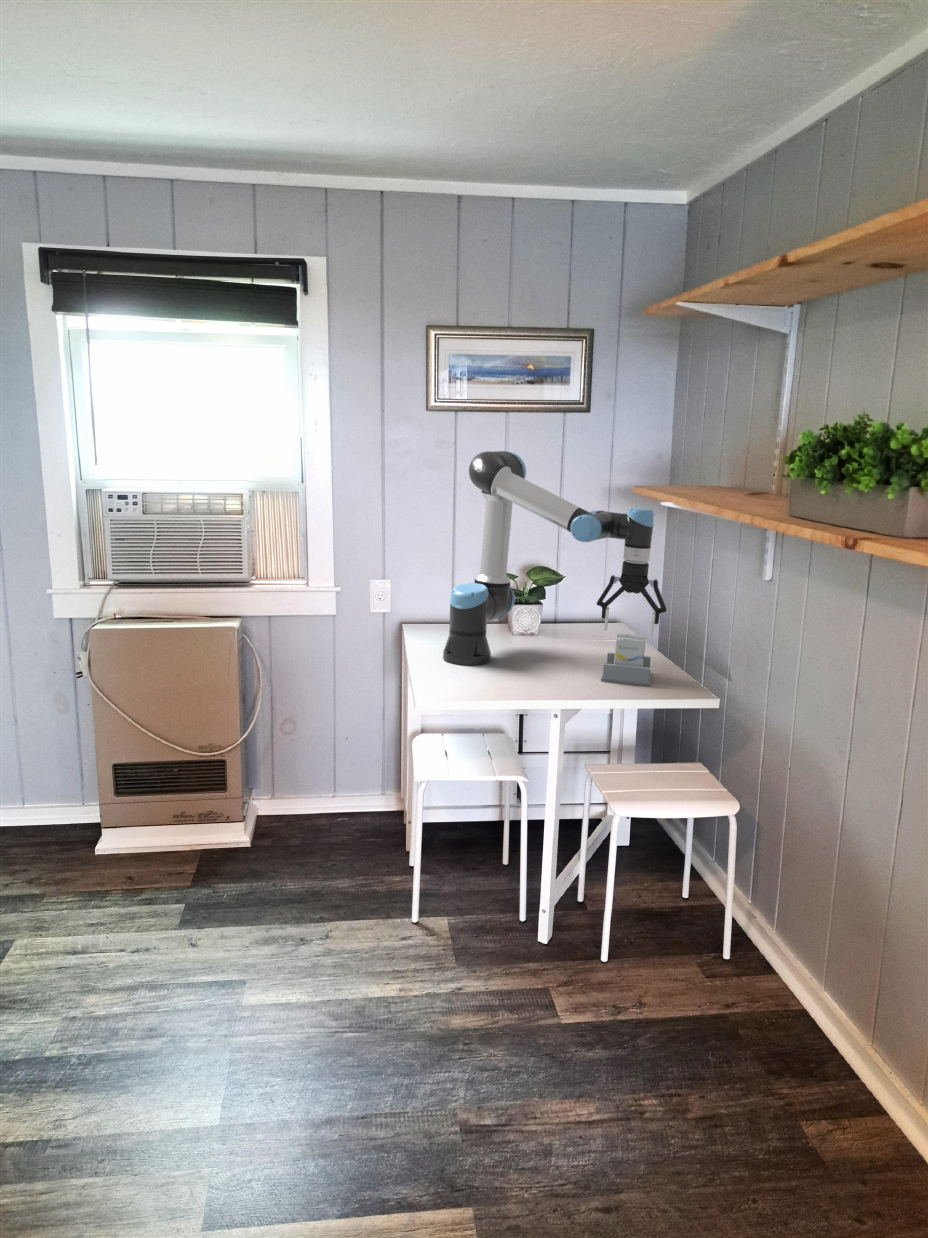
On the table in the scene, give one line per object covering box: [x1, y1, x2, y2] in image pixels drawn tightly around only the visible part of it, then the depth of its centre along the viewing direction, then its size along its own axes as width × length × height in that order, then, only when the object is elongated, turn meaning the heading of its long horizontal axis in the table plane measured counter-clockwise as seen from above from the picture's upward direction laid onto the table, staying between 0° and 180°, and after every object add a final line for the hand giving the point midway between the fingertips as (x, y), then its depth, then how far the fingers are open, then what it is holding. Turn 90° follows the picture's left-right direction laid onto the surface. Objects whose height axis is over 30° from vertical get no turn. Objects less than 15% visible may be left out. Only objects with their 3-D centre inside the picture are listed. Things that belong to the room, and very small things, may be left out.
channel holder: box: [600, 652, 652, 687], centre depth 252 cm, size 14×15×5 cm
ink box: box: [614, 632, 647, 667], centre depth 251 cm, size 9×9×12 cm
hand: (628, 632), depth 250 cm, fingers open, 13 cm apart
